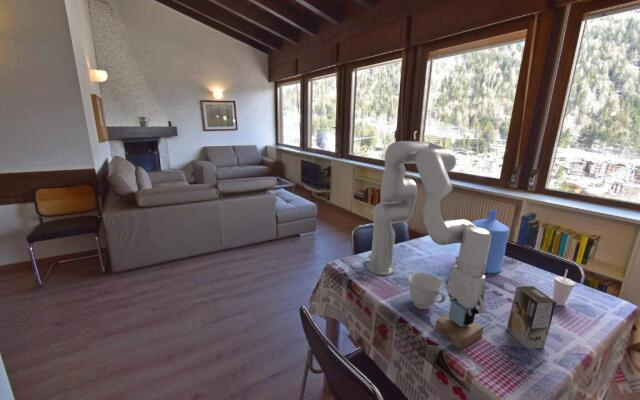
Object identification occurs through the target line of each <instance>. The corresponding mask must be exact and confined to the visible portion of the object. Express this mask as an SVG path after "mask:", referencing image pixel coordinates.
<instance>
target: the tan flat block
mask: <svg viewBox="0 0 640 400" xmlns="http://www.w3.org/2000/svg"><path fill="white" fill-rule="evenodd" d="M484 327H485V326H483V325H481V324H479V323H478V322H476V321H475V320H474V321H473V323H472V324H469V325H466V326H463V327H460V326H459V325H458V324H456V323H455V322H454V321H453V320H451V319H450V318H449V312H448V313H447V314H444V315H443V316H440V317H439V318H437V319H436V322H435V327H434V329H435V330H436V331H437V332H439V333H440V334H442V335H443V336H445V337H446V338H447V339H449V340H450V341H451V342H454V344H457V346H459V347H460V348H461V349H463V350H465V349H466V348H467V347H469V346H470V345H472V344H473V343H474V342H477V340H479V339H481V337H482V336H483V332H484Z"/></svg>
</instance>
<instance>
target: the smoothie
mask: <svg viewBox="0 0 640 400" xmlns="http://www.w3.org/2000/svg"><path fill="white" fill-rule="evenodd" d="M568 271H569V269H567V268H566V269H565V272H564V275H563V276H554V278H553V281H554V284H553V290H552V300H554V301H555V302H557V303H556V305H557V304H558V305H557V306H561V305H563V306H565V305H566V302H567V301H568V298H569V297H570V294H571V293H572V290H573V289H574V288H575V287H576V282H575V281H573V280H572V279H571V278H567V275H568Z"/></svg>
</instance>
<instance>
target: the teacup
mask: <svg viewBox="0 0 640 400" xmlns="http://www.w3.org/2000/svg"><path fill="white" fill-rule="evenodd" d="M407 281H408V282H409V296H410V300H411V301H412V302H413V305H414V307H416V308H418V309H419V310H427V309H430V307H431V306H432V305H434V304H435V303H436V304H443V303H444V302H445V300H446V294H445V292H444V291H442V290H441V289H442V288H443V286H444V285H443V283H442V281H441V280H440V278H438V277H436V276H434V275H431V274H428V273H424V272H413V273H411V274H409V275H408V276H407ZM439 295H440V296H441V298H440V299H437V298H438V296H439Z"/></svg>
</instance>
